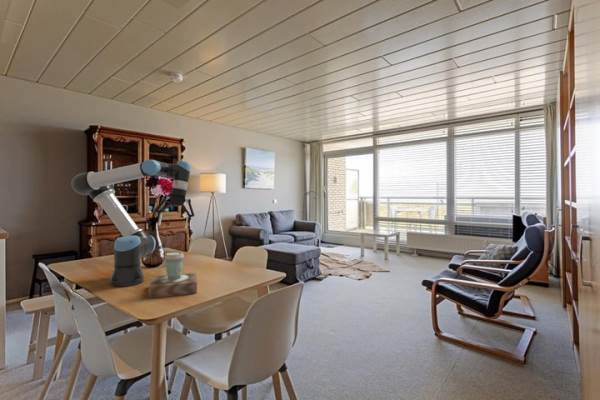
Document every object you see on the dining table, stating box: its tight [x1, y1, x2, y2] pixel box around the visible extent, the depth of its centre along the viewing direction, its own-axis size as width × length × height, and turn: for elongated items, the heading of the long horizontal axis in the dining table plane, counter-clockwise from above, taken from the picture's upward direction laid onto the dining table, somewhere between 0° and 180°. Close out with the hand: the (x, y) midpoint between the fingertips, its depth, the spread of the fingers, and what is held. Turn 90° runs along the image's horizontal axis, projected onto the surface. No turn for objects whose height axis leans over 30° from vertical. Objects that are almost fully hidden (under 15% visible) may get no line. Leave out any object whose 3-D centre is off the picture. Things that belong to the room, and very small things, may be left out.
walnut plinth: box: [148, 272, 198, 299], centre depth 143 cm, size 20×18×5 cm
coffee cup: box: [164, 251, 185, 280], centre depth 142 cm, size 8×8×12 cm
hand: (172, 227), depth 162 cm, fingers open, 13 cm apart
